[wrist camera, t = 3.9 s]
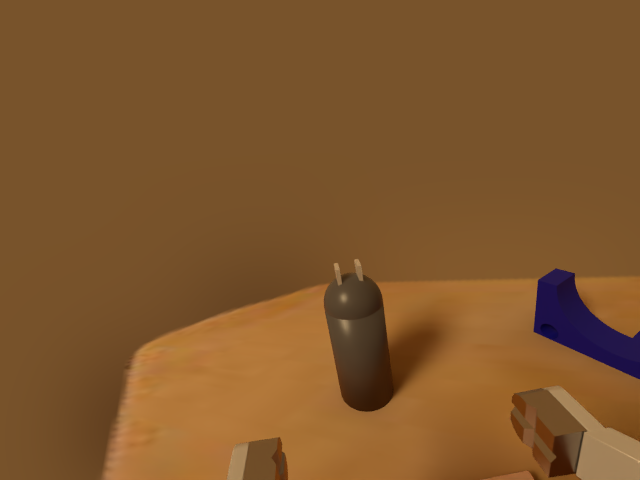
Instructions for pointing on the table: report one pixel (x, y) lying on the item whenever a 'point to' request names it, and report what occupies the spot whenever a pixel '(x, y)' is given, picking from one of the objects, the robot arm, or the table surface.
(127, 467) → the table surface
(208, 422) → the table surface
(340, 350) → the charger plug
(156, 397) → the table surface
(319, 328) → the table surface
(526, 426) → the robot arm
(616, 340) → the blue u-shaped bracket
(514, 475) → the board
